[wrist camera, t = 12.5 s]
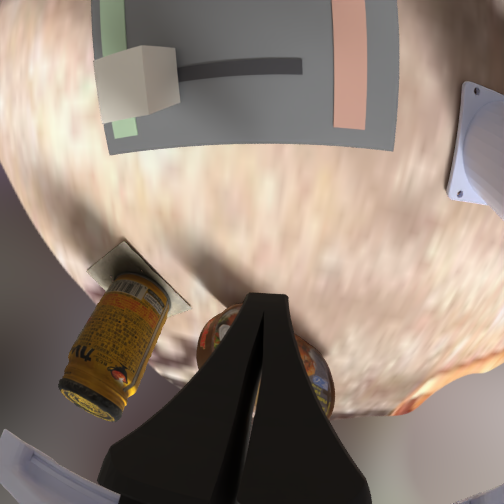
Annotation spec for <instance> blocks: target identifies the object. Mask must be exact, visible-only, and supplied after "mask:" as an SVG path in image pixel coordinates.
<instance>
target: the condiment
mask: <svg viewBox="0 0 504 504" xmlns="http://www.w3.org/2000/svg"><path fill="white" fill-rule="evenodd" d="M141 270H142V271H143V272H142V271H141ZM87 273H88V274H89V275H90V276H91V277H92V278H93V279H94V280H95V281H96V282H97V283H98V284H99V285H100V286H101V287H102V288H103V289H104V290H105V291H106V292H105V294H104V295H103V297H102V298H101V300H100V302H99V303H98V304H97V306H96V308H95V310H94V311H93V313H92V315H91V316H90V318H89V320H88V321H87V323H86V325H85V326H84V328H83V329H82V331H81V333H80V334H79V336H78V338H77V340H76V341H75V343H74V345H73V347H72V349H71V350H70V352H69V357H68V358H69V363H68V365H67V366H66V368H65V371H64V372H65V373H64V376H63V378H62V379H60V381H59V384H58V387H59V389H60V391H61V393H63V395H64V396H65V397H67V398H68V399H69V400H70V401H71V402H73V403H74V404H75V405H77V406H78V407H80V408H82V409H84V410H85V411H87V412H89V413H91V414H93V415H95V416H97V417H99V418H102V419H105V420H107V421H115V422H116V421H118V420H119V419H120V418H121V416H122V412H123V409H124V406H126V404H127V398H128V397H129V396H131V395H133V394H134V393H135V392H136V391H137V388H138V386H139V384H140V380H141V378H142V377H143V374H144V372H145V369H146V365H147V363H148V360H149V358H150V357H151V354H152V352H153V349H154V347H155V345H156V343H157V340H158V337H159V335H160V334H161V330H162V327H163V325H164V324H165V321H166V319H167V318H168V317H171V316H173V315H176V314H179V313H183V312H185V311H188V310H190V309H192V308H191V307H190V306H189V305H188V304H187V303H186V302H185V301H184V300H183V299H182V298H181V297H180V296H179V295H178V294H177V293H175V292H174V290H173V289H172V288H171V287H170V286H169V285H168V284H166V282H165V281H164V280H163V279H162V278H160V277H159V276H158V274H156V273H155V272H153V271H152V270H151V268H150V267H149V266H148V265H147V264H146V263H145V262H144V260H143V259H142V258H141V257H140V256H139V255H138V254H136V253H135V252H134V251H133V250H132V249H131V248H130V247H129V246H128V245H127V243H126V242H125V241H123V242H122V243H121V244H119V245H118V246H117V247H115V248H114V249H113V250H112V251H110V252H109V253H108V254H106V255H105V256H104V257H103V258H101V259H100V260H99V261H98V262H97V263H96V264H94V265H93V266H92V267H91V268H90V269H89V270H88V271H87ZM110 276H112V278H111V277H110ZM112 280H113V282H112Z"/></svg>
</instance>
